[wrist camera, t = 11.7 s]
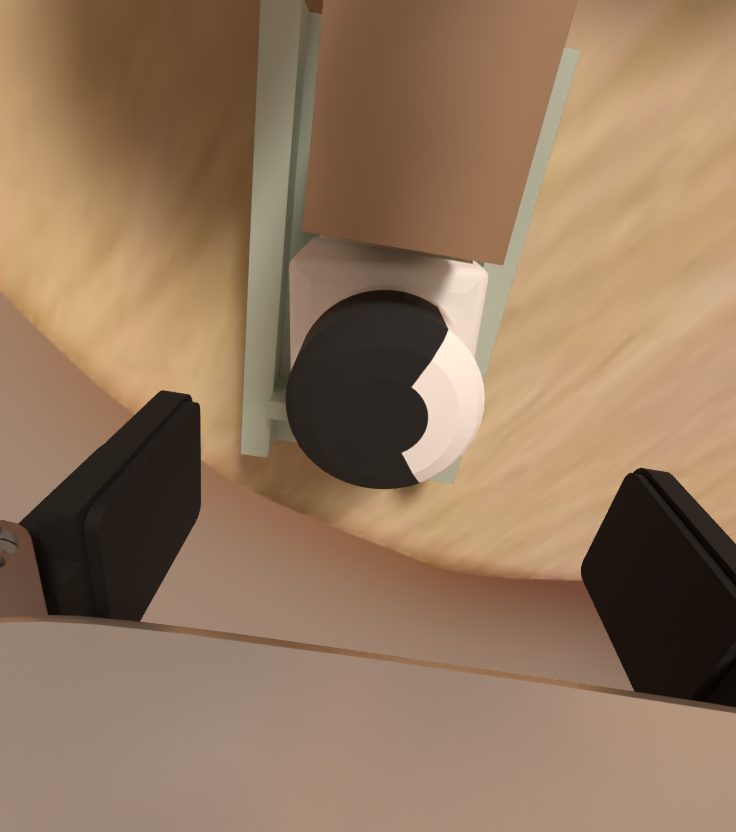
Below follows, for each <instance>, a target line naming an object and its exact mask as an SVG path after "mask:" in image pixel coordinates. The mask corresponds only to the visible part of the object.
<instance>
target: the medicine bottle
mask: <svg viewBox="0 0 736 832" xmlns="http://www.w3.org/2000/svg"><path fill="white" fill-rule="evenodd" d="M319 236H320V235H317V236H314V237H313V238H312V239H311V240H310V241H309V242H308V243H307V244H306V245H305V246H304V247H303V248H302V249H301V250H300V251H299V252H298V254H297V255H296V256H295V257H294V258H293V259H292V260H291V261H290V265H289V288H290V359H291V372H290V375H289V379H288V382H287V387H286V397H285V401H286V413H287V418H288V422H289V425H290V428H291V431H292V433H293V436H294V437H295V439H296V441H297V443H298V445H299V446H300V447H301V449H302V450H303V451H304V453H305V454H306V455H307V456H308V457H309V458H310V459H311V460H312V461H313V462H314V463H315V464H316V465H317V466H318V467H320V468H321V469H322V470H324V471H325V472H327V473H328V474H330V475H332V476H333V477H335V478H337V479H340V480H342V481H344V482H346V483H350V484H353V485H356V486H360V487H366V488H372V489H396V488H402V487H408V486H412V485H415V484H418V483H422V482H424V481H426V480H429V479H431V478H433V477H435V476H437V475H438V474H440V473H442V472H443V471H445V470H446V469H447V468H449V467H450V466H451V465H453V464H454V463H455V462H456V461H457V460H458V459H459V458H460V457H461V456H462V455H463V454H464V452H465V451H466V450H467V449H468V447H469V446H470V445H471V443H472V441H473V439H474V438H475V436H476V434H477V431H478V429H479V426H480V424H481V420H482V416H483V412H484V400H485V396H484V385H483V381H482V377H481V373H480V370H479V368H478V365H477V363H476V361H475V353H476V347H477V342H478V336H479V330H480V324H481V318H482V313H483V307H484V301H485V295H486V289H487V284H488V273H487V272H486V271H485V269H484V268H482V267H481V266H480V265H479V264H478V263H477V262H476V261H473V264H470V263H465V262H459V261H453V260H447V259H441V258H435V257H429V256H423V255H417V254H412V253H406V252H400V251H394V250H388V249H382V248H376V247H370V246H364V245H359V244H353V243H347V242H341V241H335V240H329V239H323V238H319Z"/></svg>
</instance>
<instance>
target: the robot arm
mask: <svg viewBox="0 0 736 832" xmlns="http://www.w3.org/2000/svg"><path fill="white" fill-rule="evenodd" d="M200 507H201V442H200V405H199V403H196V402H192V398H191V396H190V395H188V394H182V393H176V392H170V391H163V390H162V391H160V392H159V393H157V394H156V395H155V396H154V397H153V398H152V399H151V400H150V401H149V402H148V403H147V404H146V405H145V406H144V407H143V408H142V409H141V410H140V411H138V412H137V413H136V414H135V415H134V416H133V417H132V418H131V419H130V420H129V421H128V422H127V423H126V424H125V425H124V426H123V427H122V428H121V429H119V430H118V431H117V432H116V433H115V434H114V435H113V436H112V437H111V438H110V439H109V440H108V441H107V442H106V443H105V444H104V445H102V446H101V447H99V448H98V449H97V450H96V451H95V452H94V453H93V454H92V455H91V456H89V457H88V458H87V459H86V461H84V462H83V463H82V464H81V465H80V466H79V467H78V468H77V469H76V470H75V471H74V472H73V473H71V474H70V475H69V476H68V477H67V478H66V479H65V480H64V481H63V482H62V483H61V484H60V485H59V486H58V487H57V488H56V489H54V490H53V491H52V492H51V493H50V494H49V495H48V496H47V497H46V498H45V499H44V500H43V501H42V502H41V503H40V504H39V505H38V506H36V507H35V508H34V509H33V510H32V511H31V512H30V513H29V514H28V515H27V516H26V517H25V518H24V519H23V520H22V521H21V522H20V523H18V524H17V523H13V522H9V521H5V520H0V832H736V544H735V543H734V542H733V541H732V539H731V538H730V537H729V536H728V535H727V534H726V533H725V532H724V531H723V530H722V529H721V528H720V526H719V525H718V524H717V523H716V522H715V521H714V520H713V519H712V518H711V517H710V516H709V514H708V513H707V512H706V511H705V510H704V509H703V508H702V507H701V506H700V505H699V504H698V503H697V501H696V500H695V499H694V498H693V497H692V496H691V495H690V494H689V493H688V492H687V491H686V490H685V488H684V487H683V486H682V485H681V484H680V483H679V482H678V481H677V480H676V479H675V478H674V477H673V475H671V474H670V473H669V472H663V471H657V470H651V469H645V468H639V469H637V470H636V471H634V472H633V473H629V474H628V475H626V477H625V478H624V480H623V482H622V484H621V486H620V488H619V490H618V492H617V494H616V496H615V498H614V500H613V502H612V504H611V506H610V508H609V510H608V512H607V514H606V516H605V518H604V520H603V522H602V524H601V526H600V528H599V530H598V532H597V534H596V536H595V538H594V540H593V542H592V544H591V546H590V548H589V550H588V552H587V554H586V556H585V558H584V560H583V562H582V566H581V576H582V580H583V582H584V584H585V586H586V588H587V590H588V593H589V595H590V597H591V599H592V601H593V603H594V605H595V608H596V610H597V612H598V614H599V616H600V618H601V620H602V623H603V625H604V627H605V629H606V631H607V633H608V635H609V638H610V640H611V642H612V644H613V646H614V648H615V650H616V653H617V655H618V657H619V659H620V661H621V663H622V666H623V668H624V670H625V672H626V674H627V676H628V678H629V681H630V683H631V685H632V687H633V689H634V691H635V692H633V691H626V690H620V689H613V688H607V687H601V686H594V685H587V684H581V683H574V682H567V681H561V680H554V679H547V678H541V677H534V676H527V675H520V674H513V673H506V672H500V671H493V670H486V669H480V668H473V667H465V666H459V665H452V664H445V663H438V662H431V661H424V660H418V659H410V658H404V657H396V656H390V655H383V654H376V653H368V652H362V651H355V650H348V649H340V648H333V647H326V646H319V645H312V644H305V643H297V642H291V641H283V640H276V639H269V638H262V637H255V636H248V635H241V634H234V633H226V632H218V631H210V630H202V629H194V628H186V627H178V626H170V625H163V624H154V623H146V622H140V620H141V618H142V617H143V615H144V613H145V611H146V609H147V608H148V606H149V604H150V602H151V601H152V599H153V597H154V595H155V594H156V592H157V590H158V588H159V586H160V585H161V583H162V581H163V579H164V577H165V576H166V574H167V572H168V570H169V569H170V567H171V565H172V563H173V561H174V560H175V558H176V556H177V554H178V552H179V551H180V549H181V547H182V545H183V544H184V542H185V540H186V538H187V536H188V535H189V533H190V531H191V529H192V527H193V526H194V524H195V522H196V520H197V518H198V515H199V512H200Z"/></svg>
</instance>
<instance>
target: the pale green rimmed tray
mask: <svg viewBox="0 0 736 832" xmlns="http://www.w3.org/2000/svg"><path fill="white" fill-rule="evenodd" d="M321 19H322V14H319V13H314V12H309V10H308V7H307V5H306V2H305V0H260V22H259V45H258V68H257V91H256V114H255V136H254V159H253V182H252V205H251V228H250V251H249V274H248V297H247V320H246V342H245V365H244V388H243V411H242V434H241V454H244V455H251V456H258V457H265V458H268V456H269V454H270V451H271V448H272V446H273V443H274V440H279V441H286V442H293V443H297V441H296V439H295V437H294V436H293V433H292V431H291V428H290V425H289V422H288V418H287V413H286V401H285V397H286V387H287V382H288V379H289V375H290V372H291V359H290V288H289V265H290V261H291V260H292V259H293V258H294V257H295V256H296V255H297V254H298V252H299V251H300V250H301V249H302V248H303V247H304V246H305V245H306V244H307V243H308V242H309V241H310V240H311V239H312V238H313V237H314V236H317V235H320V234H315V233H309V232H303V231H302V229H303V218H304V207H305V196H306V185H307V174H308V163H309V152H310V141H311V130H312V119H313V107H314V96H315V85H316V74H317V63H318V52H319V41H320V30H321ZM579 55H580V50H575V49H570V48H566V47H564V50H563V54H562V57H561V61H560V64H559V68H558V71H557V75H556V79H555V82H554V86H553V89H552V93H551V96H550V100H549V104H548V107H547V111H546V114H545V118H544V121H543V125H542V129H541V132H540V136H539V139H538V143H537V146H536V150H535V154H534V157H533V161H532V164H531V168H530V171H529V175H528V179H527V182H526V186H525V189H524V193H523V196H522V200H521V204H520V207H519V211H518V214H517V218H516V221H515V225H514V229H513V232H512V236H511V239H510V243H509V246H508V250H507V254H506V257H505V261H504V264H503V266H502V265H497V264H491V263H485V262H479V261H476V262H477V263H478V264H479V265H480V266H481V267H482V268H484V269H485V271H486V272H487V273H488V284H487V289H486V295H485V301H484V307H483V313H482V318H481V324H480V330H479V336H478V342H477V347H476V353H475V361H476V363H477V365H478V368H479V370H480V373H481V377H482V381H483V382H484V379H485V375H486V372H487V368H488V365H489V361H490V358H491V355H492V351H493V348H494V344H495V341H496V338H497V334H498V331H499V327H500V324H501V321H502V317H503V314H504V310H505V307H506V304H507V300H508V297H509V293H510V290H511V287H512V283H513V280H514V276H515V273H516V269H517V266H518V263H519V259H520V256H521V252H522V249H523V246H524V242H525V239H526V235H527V232H528V229H529V225H530V222H531V218H532V215H533V212H534V208H535V205H536V201H537V198H538V194H539V191H540V188H541V184H542V181H543V177H544V174H545V171H546V167H547V164H548V160H549V157H550V154H551V150H552V147H553V143H554V140H555V137H556V133H557V130H558V126H559V123H560V120H561V116H562V113H563V109H564V106H565V102H566V99H567V96H568V92H569V89H570V85H571V82H572V79H573V75H574V72H575V68H576V65H577V62H578V58H579ZM461 457H462V456H461ZM461 457H460V458H459V459H458V460H457V461H456V462H455V463H454V464H453V465H451V466H450V467H449V468H447V469H446V470H445V471H443V472H442V473H440V474H438V475H437V476H435V477H433V478H431V479H429V481H436V482H443V483H450V484H454V481H455V477H456V474H457V471H458V467H459V464H460V460H461Z"/></svg>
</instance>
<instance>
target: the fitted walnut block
mask: <svg viewBox="0 0 736 832" xmlns="http://www.w3.org/2000/svg"><path fill="white" fill-rule="evenodd" d="M576 4H577V0H323V8H322V19H321V30H320V41H319V52H318V63H317V74H316V85H315V96H314V107H313V119H312V130H311V141H310V152H309V163H308V174H307V185H306V196H305V207H304V218H303V229H302V231H303V232H309V233H315V234H320V236H319V238H323V239H329V240H335V241H341V242H347V243H353V244H359V245H364V246H370V247H376V248H382V249H388V250H394V251H400V252H406V253H412V254H417V255H423V256H429V257H435V258H441V259H447V260H453V261H459V262H465V263H470V264H473V261H479V262H485V263H491V264H497V265H502V266H503V264H504V261H505V257H506V254H507V250H508V246H509V243H510V239H511V236H512V232H513V229H514V225H515V221H516V218H517V214H518V211H519V207H520V204H521V200H522V196H523V193H524V189H525V186H526V182H527V179H528V175H529V171H530V168H531V164H532V161H533V157H534V154H535V150H536V146H537V143H538V139H539V136H540V132H541V129H542V125H543V121H544V118H545V114H546V111H547V107H548V104H549V100H550V96H551V93H552V89H553V86H554V82H555V79H556V75H557V71H558V68H559V64H560V61H561V57H562V54H563V50H564V46H565V43H566V39H567V36H568V32H569V29H570V25H571V21H572V18H573V14H574V11H575V7H576Z"/></svg>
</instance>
